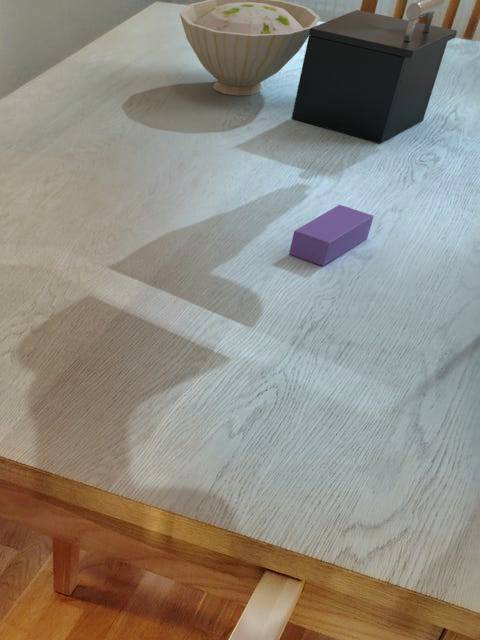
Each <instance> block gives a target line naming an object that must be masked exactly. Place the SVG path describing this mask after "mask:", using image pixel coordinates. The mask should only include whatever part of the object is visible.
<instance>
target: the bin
mask: <svg viewBox="0 0 480 640" xmlns="http://www.w3.org/2000/svg"><path fill="white" fill-rule="evenodd" d="M448 42H449V41H447V42H445V43H443V44H441V45H438V46H436V47H434V48H432V49H430V50H428V51H426V52H423V53H421V54H419V55H417V56H415V57H413V58H407V57H402V56H398V55H394V54H389V53H385V52H380V51H376V50H372V49H367V48H363V47H358V46H354V45H350V44H345V43H341V42H336V41H332V40H328V39H323V38H319V37H314V36H310V35H309V37H308V38H307V44H306V48H305V52H304V57H303V63H302V65H301V66H302V67H301V72H300V76H299V81H298V86H297V91H296V95H295V100H294V105H293V109H292V114H291V119H292V120H295V121H298V122H302V123H305V124H308V125H309V124H310V125H313V126H316V127H319V128H323V129H327V130H331V131H334V132H337V133H342V134H344V135H348V136H351V137H356V138H358V139H359V138H360V139H363V140H366V141H370V142H373V143H377V144H382V143H384V142H386V141H388V140H390V139H392V138H393V137H396V136H397V135H399V134H401V133H403V132H405V131H407V130H408V129H410V128H412V127H414V126H416V125H418V124H420V123H421V122H423V121H424V119H425V115H426V113H427V109H428V106H429V102H430V99H431V96H432V94H433V90H434V87H435V84H436V81H437V77H438V74H439V71H440V68H441V64H442V61H443V57H444V55H445V51H446V48H447V46H448Z"/></svg>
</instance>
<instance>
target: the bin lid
mask: <svg viewBox="0 0 480 640" xmlns="http://www.w3.org/2000/svg"><path fill="white" fill-rule="evenodd" d="M444 4H445V0H417V1H414V2H412V3H411V4H409V5H408V7H407V9H406V12H405V13H406V17H407V19H402V18H397V17H393V16H388V15H383V14H379V13H373V12H369V11H363V10H359V9H356V10H353V11H350V12H348V13H345V14H343V15H340V16H337V17H335V18H333V19H330V20H328V21H325V22H322V23H320V24H316V26H315V27H312V28H310V32H309V36H314V37H319V38H323V39H328V40H332V41H336V42H341V43H345V44H350V45H354V46H358V47H363V48H367V49H372V50H376V51H380V52H385V53H389V54H394V55H398V56H402V57H407V58H413V57H415V56H417V55H419V54H421V53H423V52H426V51H428V50H430V49H432V48H434V47H436V46H438V45H441V44H443V43H445V42H447V41H448V42H449V41H451V40H453V39H455V38H456V36H457V33H458V30H457V29H452V28H448V27H447V28H446V27H442V26H437V25H433V24H434V21H435V18H436V15H437V11H440V10H441V9H442V8H443V6H444ZM425 16H427V17H426V21H425V23H422V22H419V21H418V22H417V20H418V19H421V18H424V17H425ZM448 42H447V43H448Z"/></svg>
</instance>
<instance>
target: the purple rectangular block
mask: <svg viewBox="0 0 480 640" xmlns="http://www.w3.org/2000/svg"><path fill="white" fill-rule="evenodd" d="M373 220H374V215H373V214H370V213H367V212H364V211H360V210H357V209H355V208H351V207H349V206H345V205H342V204H338V205H337V206H335V207H333V208H331V209H329V210H328V211H326V212H325V213H322V214H321V215H319V216H317V217H315V218H314V219H312V220H310V221H308V222H307V223H305V224H304V225H302V226H300V227H298V228H297V229H295V230H293V234H292V239H291V244H290V248H289V251H288V254H289V255H291V256H294V257H297V258H299V259H302V260H305V261H308V262H310V263H313V264H316V265H318V266H322V267H325V266H326V265H328V264H329V263H331V262H332V261H334V260H335V259H337V258H338V257H340V256H342V255H343V254H345V253H347V252H348V251H350V250H351V249H353V248H355V247H356V246H358V245H359V244H361V243H362V242H364V241H366V240H367V239H368V237H369V234H370V231H371V227H372V225H373Z"/></svg>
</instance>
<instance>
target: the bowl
mask: <svg viewBox="0 0 480 640" xmlns="http://www.w3.org/2000/svg"><path fill="white" fill-rule="evenodd" d="M179 17H180V20H181V24H182V27H183V31H184V34H185V38H186V40H187V42H188V43H189V45H190V47H191V48H192V51H193V52H194V54H195V55H196V57H197V60H199V62H200V64H201V65H202V66H203V68H204V69H205V70H206V71H207V72H208V73H209V74H210V75H212V77H214V78H215V79H216V80H217V81H216V82H215V83H214V85H213V86H212V87H213V89H214V90H215V91H217V92H219V93H221V94H225V95H229V96H230V95H231V96H237V97H238V96H252V95H255V94H258V93H260V92H261V91H262V90H263V86H262V84H261V83H262V82H264V81H266V80H268V79H269V78H270V77H272V76H275V74H277V73H279V72H280V71H281V70H282V69H283V68H284V67H285V66H286V65H287V64H288V63H289V62H290V60H292V59H293V57H295V55H297V54H298V53H299V51H300V50H301V49H302V47H303V46H304V44H305V43H306V41H308V37H309V36H310V35H309V32H310V28H312V27H315V26H317V25H318V22H319V21H320V20H321V18H322V17H321V16H320V15H318V14H317V13H316V12H315V11H313V10H312V9H311V8H309V7H307V6H303V5H300V4H297V3H293V2H289V1H286V0H203V1H198V2H194V3H190V4H188V5H186V7H185V8H184V9H182V10H181V11H180V12H179Z"/></svg>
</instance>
